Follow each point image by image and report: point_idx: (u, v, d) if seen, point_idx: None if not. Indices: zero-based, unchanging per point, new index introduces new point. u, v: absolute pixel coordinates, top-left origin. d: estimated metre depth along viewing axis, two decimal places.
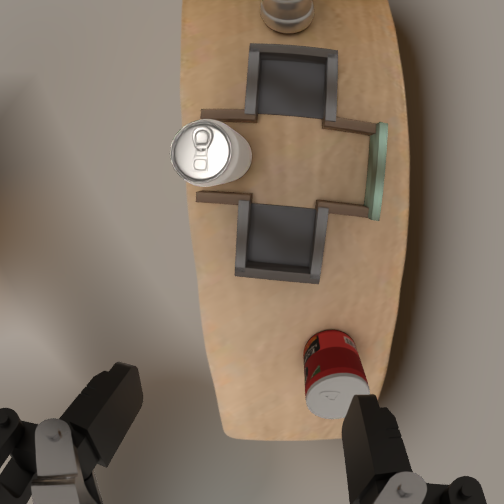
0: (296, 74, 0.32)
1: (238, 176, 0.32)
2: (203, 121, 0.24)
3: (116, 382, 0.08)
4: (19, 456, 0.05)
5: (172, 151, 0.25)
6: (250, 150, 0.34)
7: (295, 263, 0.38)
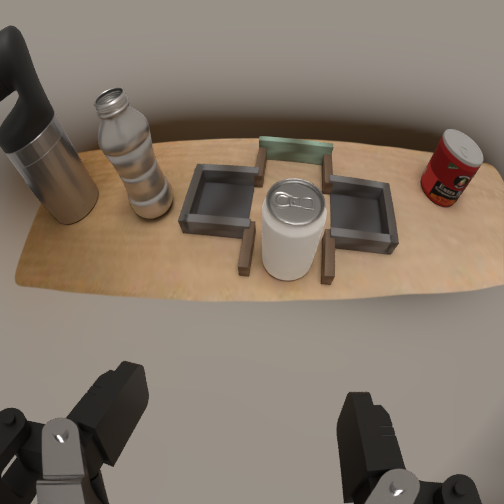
0: (212, 201, 0.43)
1: None
2: (267, 196, 0.28)
3: (123, 381, 0.09)
4: (24, 456, 0.05)
5: (293, 225, 0.26)
6: None
7: (377, 209, 0.41)
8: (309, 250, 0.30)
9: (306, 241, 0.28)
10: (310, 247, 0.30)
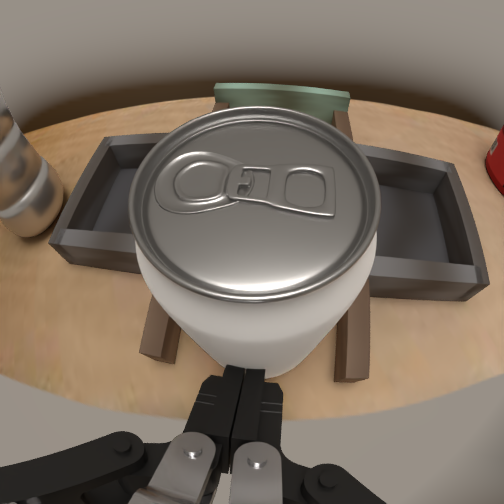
0: (124, 201, 0.21)
1: None
2: (141, 170, 0.07)
3: (236, 385, 0.09)
4: (124, 483, 0.05)
5: (234, 302, 0.05)
6: None
7: (435, 210, 0.20)
8: (312, 347, 0.09)
9: (300, 344, 0.07)
10: (313, 344, 0.08)
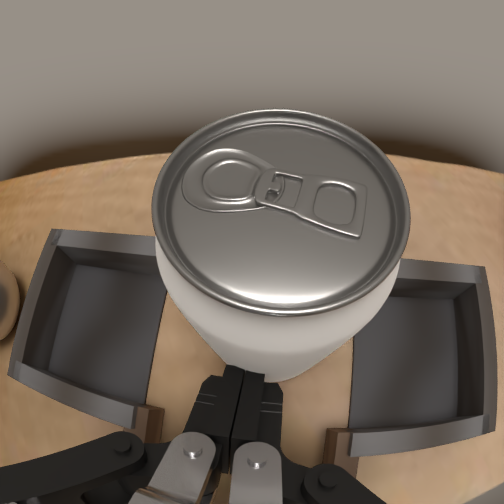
0: (82, 315, 0.17)
1: None
2: (172, 160, 0.07)
3: (236, 385, 0.09)
4: (124, 483, 0.05)
5: (243, 309, 0.05)
6: None
7: (453, 324, 0.16)
8: (316, 362, 0.09)
9: (304, 358, 0.07)
10: (318, 359, 0.08)
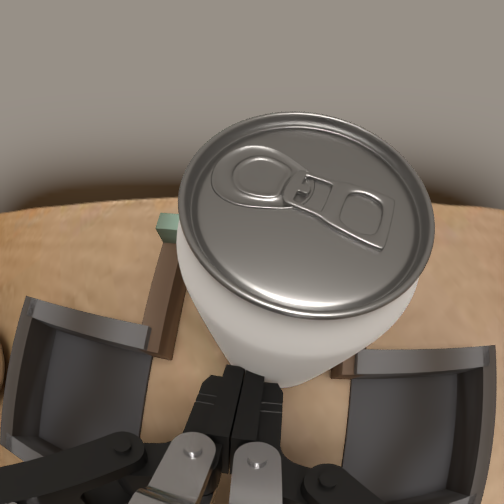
0: (65, 387, 0.14)
1: None
2: (204, 149, 0.07)
3: (236, 385, 0.09)
4: (124, 483, 0.05)
5: (259, 306, 0.05)
6: None
7: (454, 400, 0.13)
8: (321, 371, 0.09)
9: (311, 365, 0.07)
10: (324, 369, 0.08)
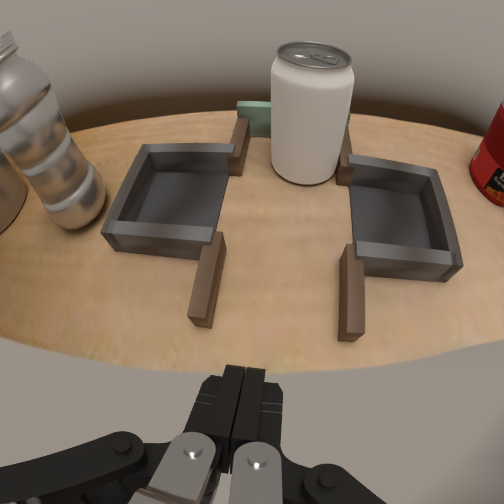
0: (162, 199, 0.26)
1: None
2: (280, 47, 0.18)
3: (236, 385, 0.09)
4: (124, 483, 0.05)
5: (303, 68, 0.17)
6: None
7: (421, 209, 0.25)
8: (326, 126, 0.20)
9: (320, 100, 0.18)
10: (326, 117, 0.20)
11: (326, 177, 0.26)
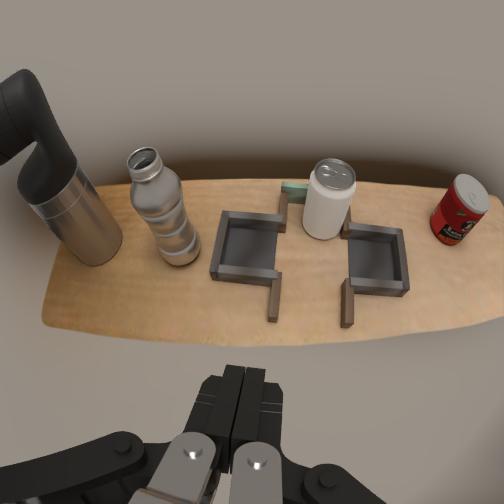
0: (238, 247, 0.46)
1: None
2: (316, 166, 0.38)
3: (236, 385, 0.09)
4: (124, 483, 0.05)
5: (329, 188, 0.36)
6: None
7: (390, 252, 0.44)
8: (338, 214, 0.40)
9: (336, 203, 0.38)
10: (338, 210, 0.39)
11: (335, 235, 0.45)
